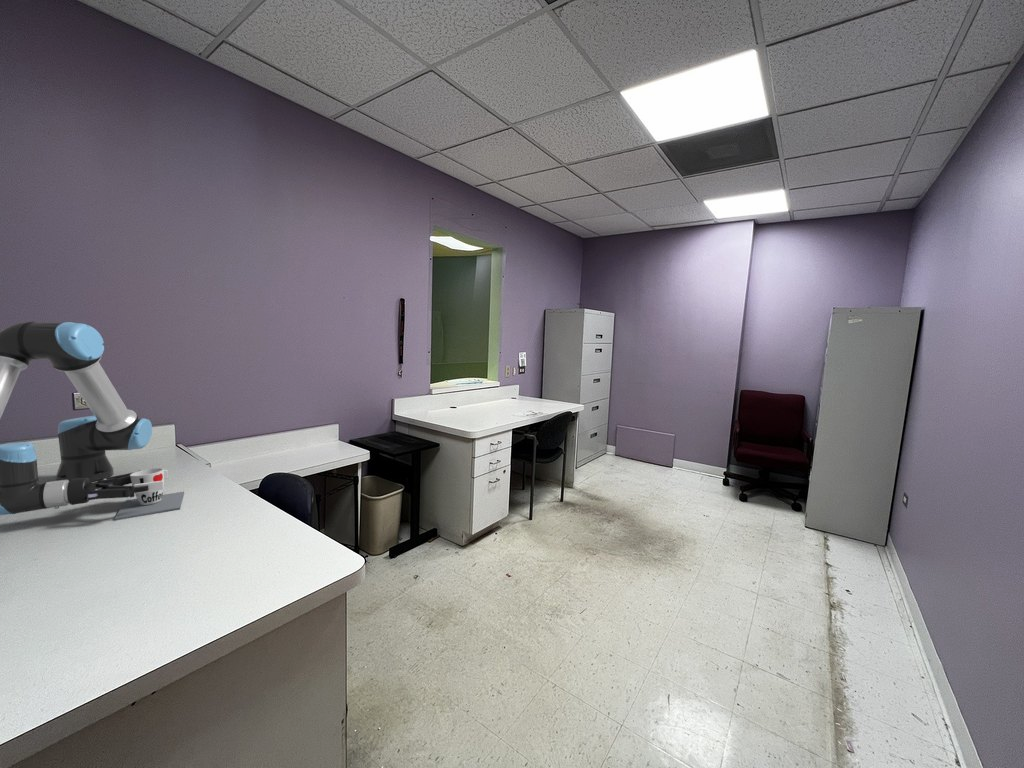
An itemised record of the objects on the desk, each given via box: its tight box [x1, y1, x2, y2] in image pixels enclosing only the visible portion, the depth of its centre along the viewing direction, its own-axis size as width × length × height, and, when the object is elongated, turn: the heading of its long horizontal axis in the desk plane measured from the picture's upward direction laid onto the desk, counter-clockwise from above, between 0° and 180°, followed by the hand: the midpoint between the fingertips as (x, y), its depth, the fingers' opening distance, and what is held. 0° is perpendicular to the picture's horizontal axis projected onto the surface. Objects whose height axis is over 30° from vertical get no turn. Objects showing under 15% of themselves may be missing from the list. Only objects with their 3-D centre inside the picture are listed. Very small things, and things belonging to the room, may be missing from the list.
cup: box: [130, 467, 165, 505], centre depth 132 cm, size 8×8×10 cm
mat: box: [114, 491, 185, 521], centre depth 132 cm, size 16×15×1 cm
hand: (165, 479), depth 133 cm, fingers open, 12 cm apart
